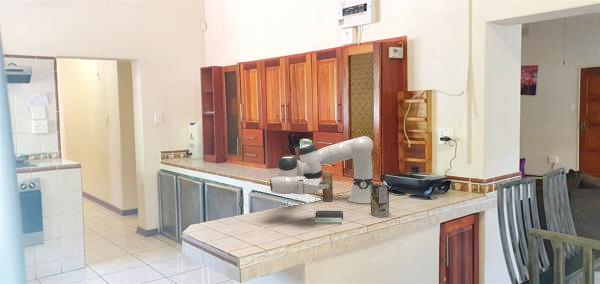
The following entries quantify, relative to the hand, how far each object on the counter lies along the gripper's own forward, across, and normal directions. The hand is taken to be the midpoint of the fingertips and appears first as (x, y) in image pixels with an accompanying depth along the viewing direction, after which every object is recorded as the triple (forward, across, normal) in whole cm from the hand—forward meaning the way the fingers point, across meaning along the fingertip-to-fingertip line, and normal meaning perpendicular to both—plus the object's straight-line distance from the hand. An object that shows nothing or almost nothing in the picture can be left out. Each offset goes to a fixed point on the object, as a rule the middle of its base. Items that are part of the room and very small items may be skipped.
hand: (329, 185), depth 228 cm
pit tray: (-1, -9, -18) cm, 21 cm away
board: (-1, 0, -18) cm, 18 cm away
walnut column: (-1, 0, -8) cm, 8 cm away
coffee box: (+25, -15, -19) cm, 35 cm away
